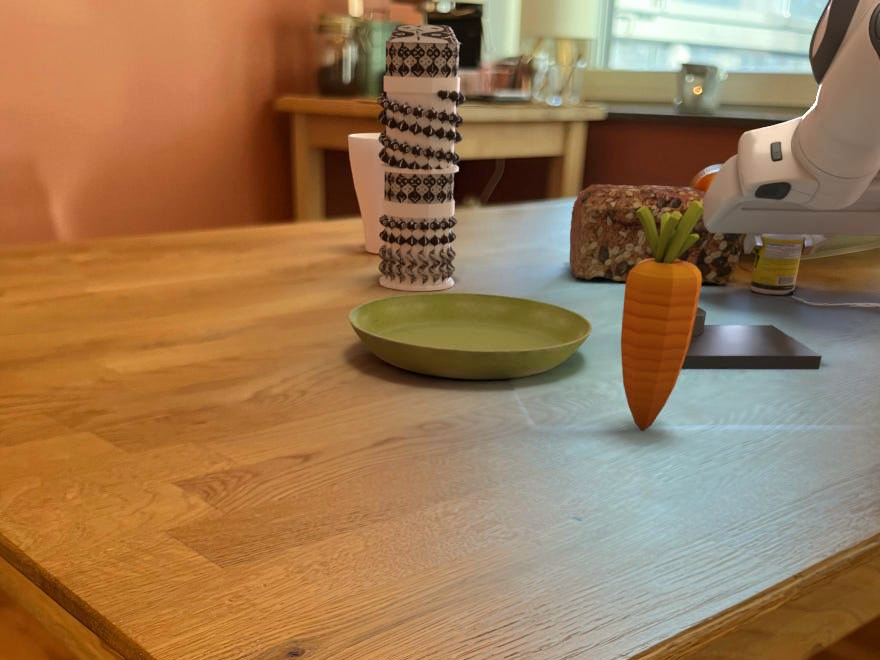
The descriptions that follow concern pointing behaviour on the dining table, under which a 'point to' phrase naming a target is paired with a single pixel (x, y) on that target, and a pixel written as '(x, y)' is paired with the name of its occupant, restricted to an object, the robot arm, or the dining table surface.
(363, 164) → the cup
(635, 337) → the carrot
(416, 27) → the decorative candle
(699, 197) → the bread
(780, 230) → the robot arm
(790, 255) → the supplement bottle
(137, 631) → the dining table surface
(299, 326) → the dining table surface
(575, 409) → the dining table surface
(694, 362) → the scale
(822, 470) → the dining table surface
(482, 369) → the saucer
